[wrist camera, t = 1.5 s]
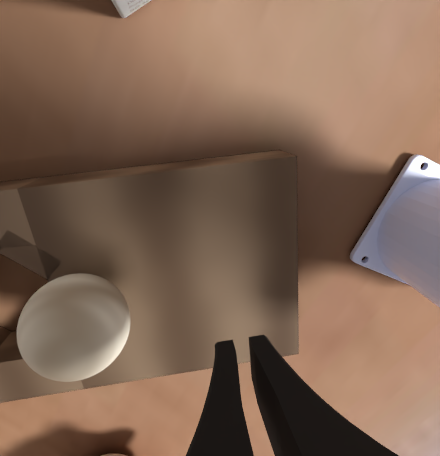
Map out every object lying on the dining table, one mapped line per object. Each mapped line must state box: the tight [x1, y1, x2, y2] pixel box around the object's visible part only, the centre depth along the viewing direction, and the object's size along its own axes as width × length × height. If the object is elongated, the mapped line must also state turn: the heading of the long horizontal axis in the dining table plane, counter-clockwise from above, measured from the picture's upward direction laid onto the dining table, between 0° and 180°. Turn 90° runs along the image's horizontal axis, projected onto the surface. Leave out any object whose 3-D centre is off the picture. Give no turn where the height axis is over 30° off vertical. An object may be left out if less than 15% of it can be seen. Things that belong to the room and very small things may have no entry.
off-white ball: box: [17, 273, 130, 382], centre depth 15 cm, size 5×5×5 cm
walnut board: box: [0, 150, 299, 403], centre depth 19 cm, size 23×13×3 cm, turn 96°
